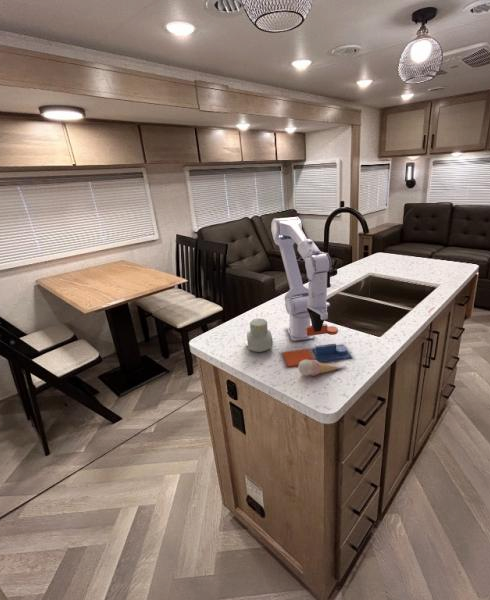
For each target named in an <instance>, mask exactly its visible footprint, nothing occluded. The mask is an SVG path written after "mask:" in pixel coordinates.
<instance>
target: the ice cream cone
mask: <svg viewBox="0 0 490 600" xmlns="http://www.w3.org/2000/svg"><path fill="white" fill-rule="evenodd" d="M297 369H298V372H299V373H300V374H301V375H303V376H317V375H319V374H322V373H327V372H332V371H336V370H341V369H343V368H342V367H340V366H335V365H332V364H328V363H325V362H319V361H318V360H317V359H314V360H307V359H306V360H302V361H301V362H300V363H299V365H298V366H297Z"/></svg>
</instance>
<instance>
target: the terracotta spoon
mask: <svg viewBox="0 0 490 600" xmlns="http://www.w3.org/2000/svg"><path fill="white" fill-rule="evenodd" d="M338 333H339V327H336V326H335V325H329V326H328V324H327V323H323V326H322V329H321V331H318V332H315V331H314V327H313V326H312V325H310V326H307V327H306V335H307V336H312V335H313V336H319V335H326V334H327V335H330V336H333V335H337V334H338Z"/></svg>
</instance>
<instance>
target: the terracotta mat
mask: <svg viewBox="0 0 490 600" xmlns="http://www.w3.org/2000/svg"><path fill="white" fill-rule="evenodd" d="M282 355H283V358H284V361H285V364H286V366H287V368H291V367H298V365H299V363H300V362H301V361H302V360H306V359H307V360H315V359H314V357H313V355H312V354H311V351H310V350H309V349H308V348H306V349H300V350H293V351H283V352H282Z"/></svg>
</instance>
